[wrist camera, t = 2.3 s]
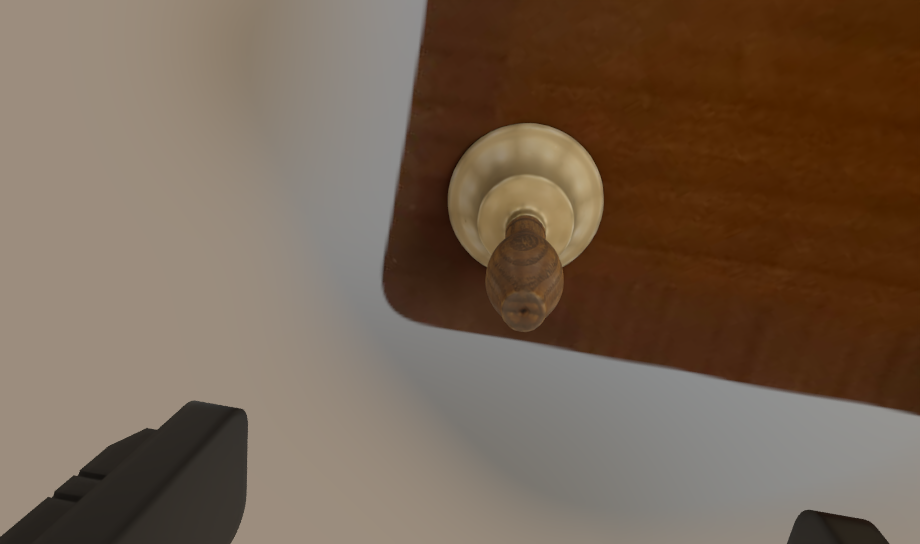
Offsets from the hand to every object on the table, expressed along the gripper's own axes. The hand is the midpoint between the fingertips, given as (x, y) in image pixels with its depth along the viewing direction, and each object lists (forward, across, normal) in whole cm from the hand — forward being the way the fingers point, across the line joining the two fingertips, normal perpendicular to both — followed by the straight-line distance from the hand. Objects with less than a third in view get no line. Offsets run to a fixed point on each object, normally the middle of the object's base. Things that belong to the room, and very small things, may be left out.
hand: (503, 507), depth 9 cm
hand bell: (+25, 0, 0) cm, 25 cm away
